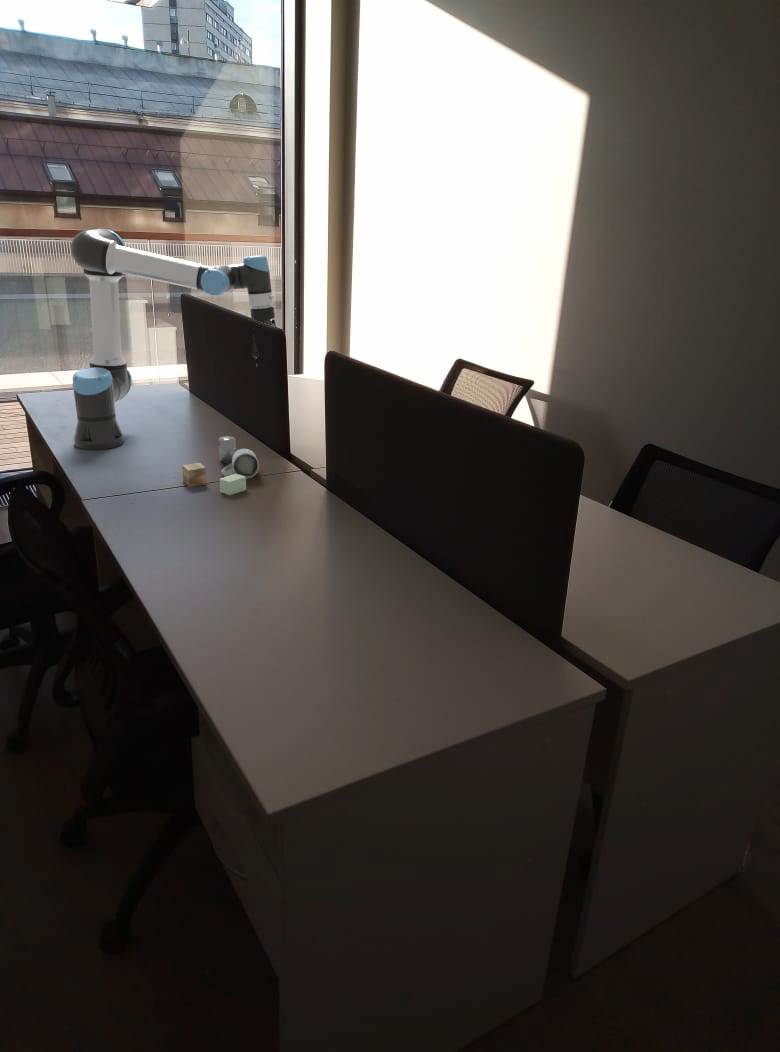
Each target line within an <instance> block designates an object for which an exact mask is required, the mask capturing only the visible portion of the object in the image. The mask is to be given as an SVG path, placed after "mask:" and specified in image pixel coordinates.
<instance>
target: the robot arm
mask: <svg viewBox="0 0 780 1052" xmlns="http://www.w3.org/2000/svg"><path fill="white" fill-rule="evenodd" d="M70 252H71V256H72V258H73V260H74V261H75V263H76V264H77V265H78V266H79V267H81V268H83V275H84V276H85V277H86V278H87V279H88V280H89V281H88V282H89V296H90V309H91V310H90V314H91V315H90V316H91V326H92V327H91V328H92V329H91V330H92V331H91V332H92V344H93V346H92V347H93V356H92V357H91V358H90V359H89V361H88V362H89V367H87V368H84V369H79V370H78V371H75V372H74V374H73V376H72V384H71V385H72V389H73V396H74V405H75V409H76V410H75V411H76V419H77V423H76V427H75V432H74V436H73V443H74V446H75V447H76V448H77V449H83V450H107V449H113V448H116V447H120V446H121V444H122V445H123V444H124V443H125V439H124V438H125V437H124V433H123V430H122V428H121V427H120V425H119V423H118V420H117V416H116V408H115V407H116V406H115V403H116V402H118V401H120V400H122V399H123V398H125V397H126V396H127V395H128V393H129V392H130V390H131V388H132V384H133V379H132V375H131V373H130V371H129V369H128V364H127V360H126V359H125V358H124V357H123V356H122V337H121V317H120V316H121V315H120V313H121V312H120V294H119V293H120V292H119V281H120V279H122V278H123V276H124V275H129V276H134V277H139V278H142V279H148V280H152V281H155V282H156V281H157V282H162V283H166V284H170V285H176V286H179V287H180V286H181V287H184V288H189V289H194V290H197V291H201V292H204V293H206V294H207V295H210V296H221V295H223V294H226V292H228V291H230V290H243V289H246V290H247V294H248V295H247V297H248V304H249V307H250V309H249V311H250V318H251V320H252V319H254V320H257V321H260V322H263V323H266V324H269V325H272V326H275V327H276V328H277V325H276V320H275V318H276V314H275V308H274V306H273V305H274V301H273V299H274V295H273V294H272V293H273V291H272V285H271V282H272V281H271V275H270V272H271V271H270V268H269V261H268V258H267V257H266V256H265V255H252V256H251V255H249V256H245V257H243V262H242V263H235V264H216V265H211V266H210V265H207V264H201V263H197V262H194V261H188V260H185V259H180V258H174V257H171V256H166V255H162V254H158V253H153V252H148V251H144V250H140V249H135V248H131V247H127V246H126V244H125V242H124V240H123V239H122V237H121V236H119V235H118V234H117V233H116V232H115V231H112V230H110V229H106V228H105V229H103V228H96V229H87V230H83V231H81V232H78V233H77V234H76V235H75V236H74V237H73V239H72V240H71V244H70ZM257 321H256V322H257ZM253 330H254V328H253V327H252V331H253ZM251 350H252V351H251V356H252V358H253V359H255V360H256V359H257V357H259V352H258V349H257V346H256V343H255V338H254V335H253V334H252V349H251ZM255 352H258V353H255ZM257 366H258V365H257V364H256V367H257ZM119 445H120V446H119Z"/></svg>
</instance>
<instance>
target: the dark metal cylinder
mask: <svg viewBox="0 0 780 1052" xmlns="http://www.w3.org/2000/svg"><path fill="white" fill-rule="evenodd" d="M236 445H237V444H236V438H235V437H234V436H229V435H228V436H220V437H219V438H218V453H219V461H220V463H222V464H223V463H224V464H232V457H233V455H234V453H235V452H236V451H237V448H236V447H237V446H236Z"/></svg>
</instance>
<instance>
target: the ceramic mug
mask: <svg viewBox="0 0 780 1052" xmlns="http://www.w3.org/2000/svg"><path fill="white" fill-rule="evenodd" d="M259 469H260V461H259V460H258V458H257V455H256V454H255V453H254V451H252V450H251V449H250V448H249V449H248V448H240V449H237V450H236V452H235V453H234V455H233V457H232V463H229V464H228V465H226V466H225V467H223V469H221V474H222V477H226V476H230V475H233V474H239V475H242V476H245V477H246V480H248V479H251V478H253V477H255V476H256V475H257V473H258V472H259Z"/></svg>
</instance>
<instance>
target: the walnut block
mask: <svg viewBox="0 0 780 1052" xmlns="http://www.w3.org/2000/svg"><path fill="white" fill-rule="evenodd" d="M181 467H182V480H183V483H184V484H185V485H187V486H188V487H189V488H192V487H198V486H203V485H207V468H206V466H205V465H203V464H202V463H201V462H196V463H190V464H183V465H182V466H181Z"/></svg>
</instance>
